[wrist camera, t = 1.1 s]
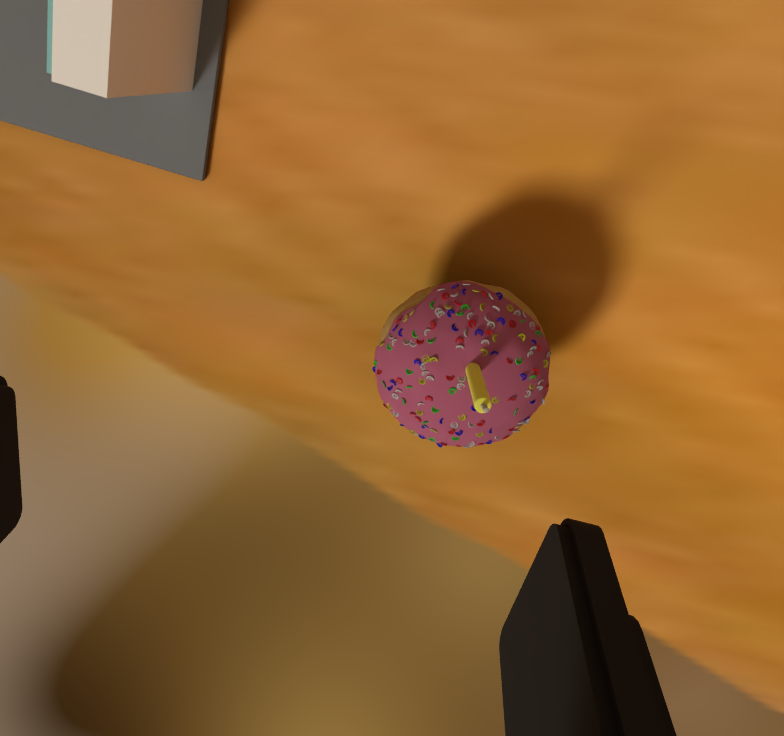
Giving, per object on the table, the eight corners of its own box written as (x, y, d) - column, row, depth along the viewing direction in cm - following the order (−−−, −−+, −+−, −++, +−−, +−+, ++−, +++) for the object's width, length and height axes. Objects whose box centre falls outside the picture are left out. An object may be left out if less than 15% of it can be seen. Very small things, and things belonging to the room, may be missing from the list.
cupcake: (411, 233, 31) (391, 319, 21) (566, 285, 32) (625, 394, 21) (365, 374, 35) (327, 508, 24) (504, 418, 36) (527, 569, 25)
